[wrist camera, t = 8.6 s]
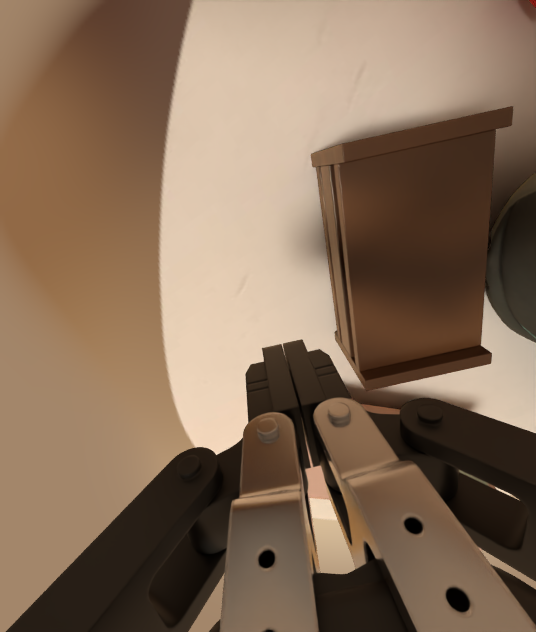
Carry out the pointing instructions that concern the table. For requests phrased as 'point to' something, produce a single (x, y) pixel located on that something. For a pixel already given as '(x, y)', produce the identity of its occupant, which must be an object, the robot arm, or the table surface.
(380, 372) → the brown wooden cabinet
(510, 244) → the running shoe
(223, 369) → the table surface
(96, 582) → the robot arm
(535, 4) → the toy figure
